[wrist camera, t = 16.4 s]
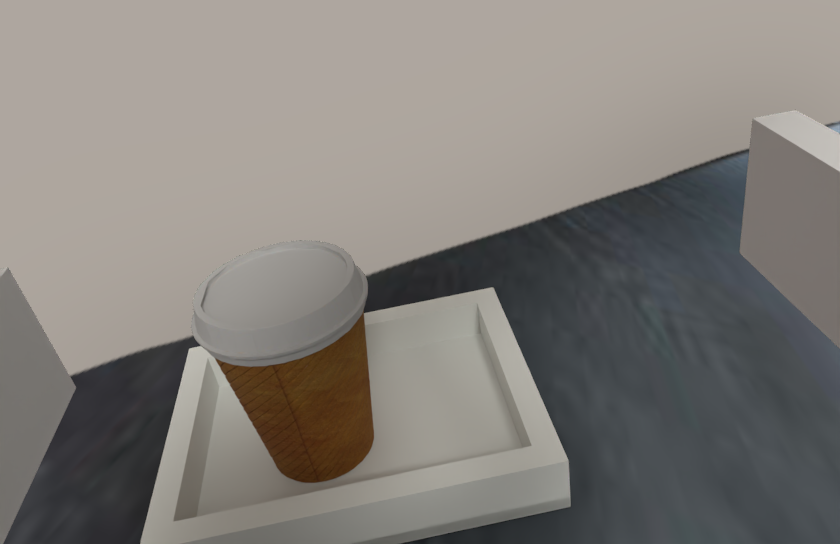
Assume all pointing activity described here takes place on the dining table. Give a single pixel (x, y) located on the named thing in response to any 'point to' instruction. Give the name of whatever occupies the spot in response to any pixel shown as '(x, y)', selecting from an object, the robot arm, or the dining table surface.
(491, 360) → the tray
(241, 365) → the disposable coffee cup
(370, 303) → the dining table surface
